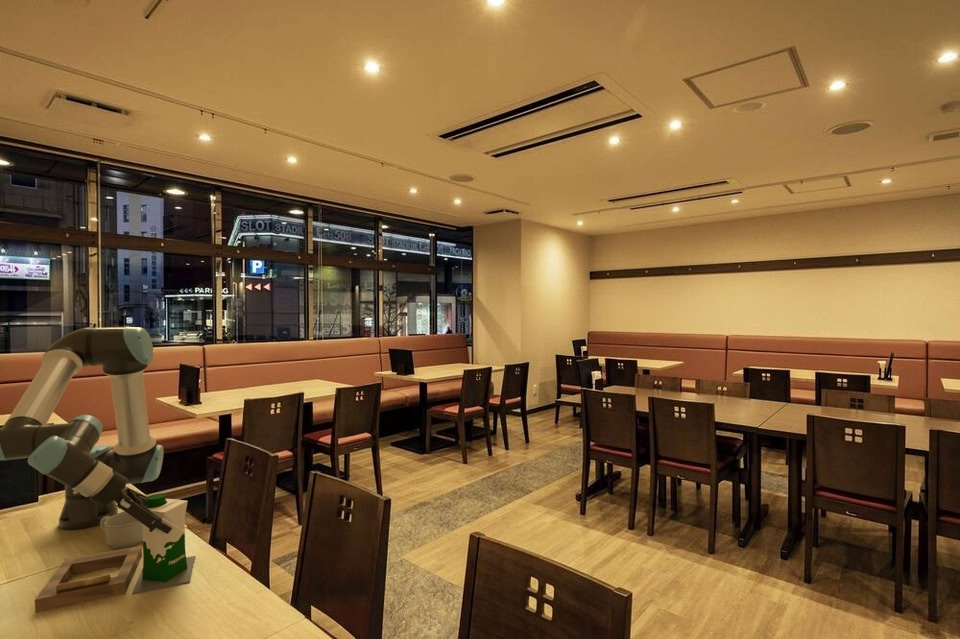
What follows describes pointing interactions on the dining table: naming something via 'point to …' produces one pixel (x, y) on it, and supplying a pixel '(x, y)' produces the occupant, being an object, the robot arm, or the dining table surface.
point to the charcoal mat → (154, 585)
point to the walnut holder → (89, 579)
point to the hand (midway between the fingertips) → (175, 527)
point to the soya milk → (164, 541)
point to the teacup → (122, 530)
